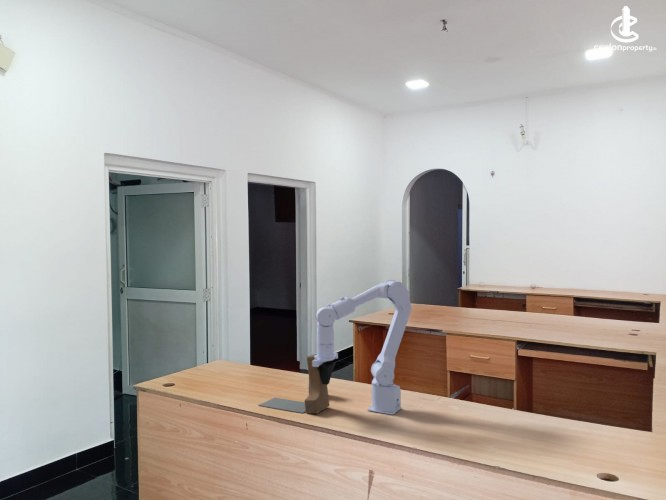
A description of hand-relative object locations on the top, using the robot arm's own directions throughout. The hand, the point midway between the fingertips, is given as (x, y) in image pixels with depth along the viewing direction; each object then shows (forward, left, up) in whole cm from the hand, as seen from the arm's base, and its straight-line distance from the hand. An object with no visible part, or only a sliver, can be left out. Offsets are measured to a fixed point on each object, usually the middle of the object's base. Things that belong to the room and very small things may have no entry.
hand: (325, 383), depth 174 cm
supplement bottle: (+12, -15, -10) cm, 22 cm away
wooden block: (+3, 0, -9) cm, 10 cm away
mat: (+15, 0, -9) cm, 18 cm away
